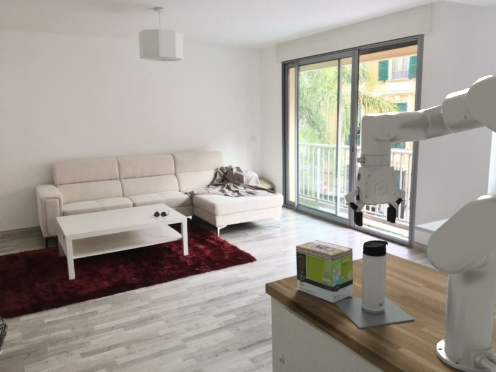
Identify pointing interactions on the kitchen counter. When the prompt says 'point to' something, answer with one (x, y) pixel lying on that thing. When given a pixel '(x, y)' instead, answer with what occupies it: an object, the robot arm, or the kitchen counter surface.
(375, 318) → the mat
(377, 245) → the travel mug
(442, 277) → the kitchen counter surface
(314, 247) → the tea box
